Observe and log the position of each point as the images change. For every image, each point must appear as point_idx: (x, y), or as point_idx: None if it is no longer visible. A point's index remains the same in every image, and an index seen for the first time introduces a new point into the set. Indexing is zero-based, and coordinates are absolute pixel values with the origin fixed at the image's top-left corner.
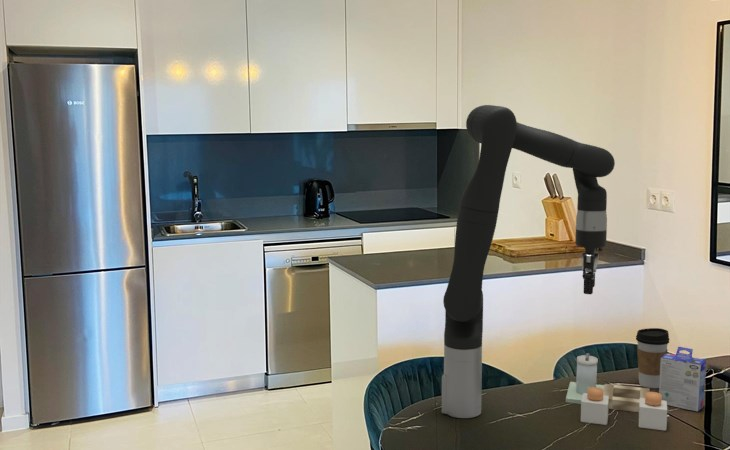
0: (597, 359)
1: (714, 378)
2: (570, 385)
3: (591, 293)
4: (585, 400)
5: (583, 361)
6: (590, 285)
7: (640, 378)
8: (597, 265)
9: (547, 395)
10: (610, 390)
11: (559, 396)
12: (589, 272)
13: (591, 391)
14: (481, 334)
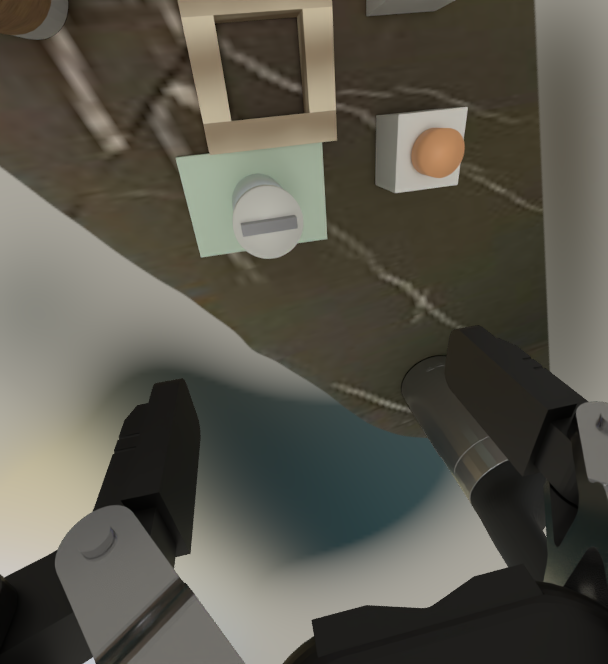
0: (261, 188)
1: None
2: (230, 250)
3: (477, 330)
4: (448, 175)
5: (302, 229)
6: (551, 379)
7: (50, 27)
8: (207, 616)
9: (298, 283)
10: (262, 127)
11: (293, 258)
12: (170, 542)
13: (460, 162)
14: (539, 481)
